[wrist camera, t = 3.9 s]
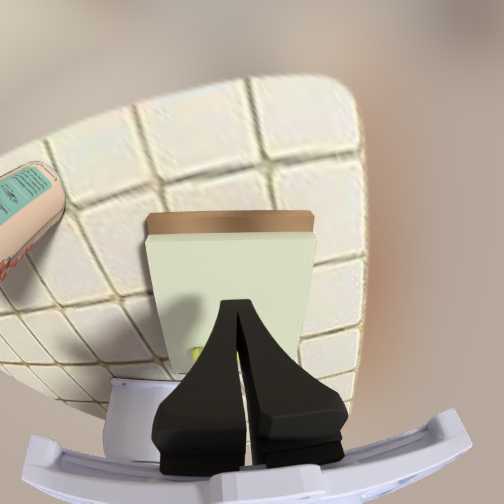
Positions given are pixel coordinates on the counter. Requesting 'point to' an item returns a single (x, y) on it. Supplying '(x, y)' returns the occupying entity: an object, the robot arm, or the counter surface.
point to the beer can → (27, 209)
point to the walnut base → (230, 222)
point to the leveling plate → (228, 285)
